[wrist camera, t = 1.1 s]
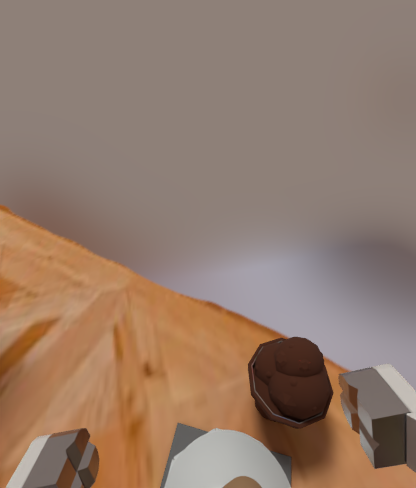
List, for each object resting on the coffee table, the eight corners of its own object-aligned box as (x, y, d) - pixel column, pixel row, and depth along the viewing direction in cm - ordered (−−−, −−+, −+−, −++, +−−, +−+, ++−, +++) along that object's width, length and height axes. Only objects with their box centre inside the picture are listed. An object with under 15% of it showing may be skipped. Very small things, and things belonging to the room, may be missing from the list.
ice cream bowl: (225, 377, 45) (242, 332, 34) (285, 357, 48) (317, 310, 38) (254, 455, 38) (285, 428, 28) (321, 426, 41) (373, 392, 31)
